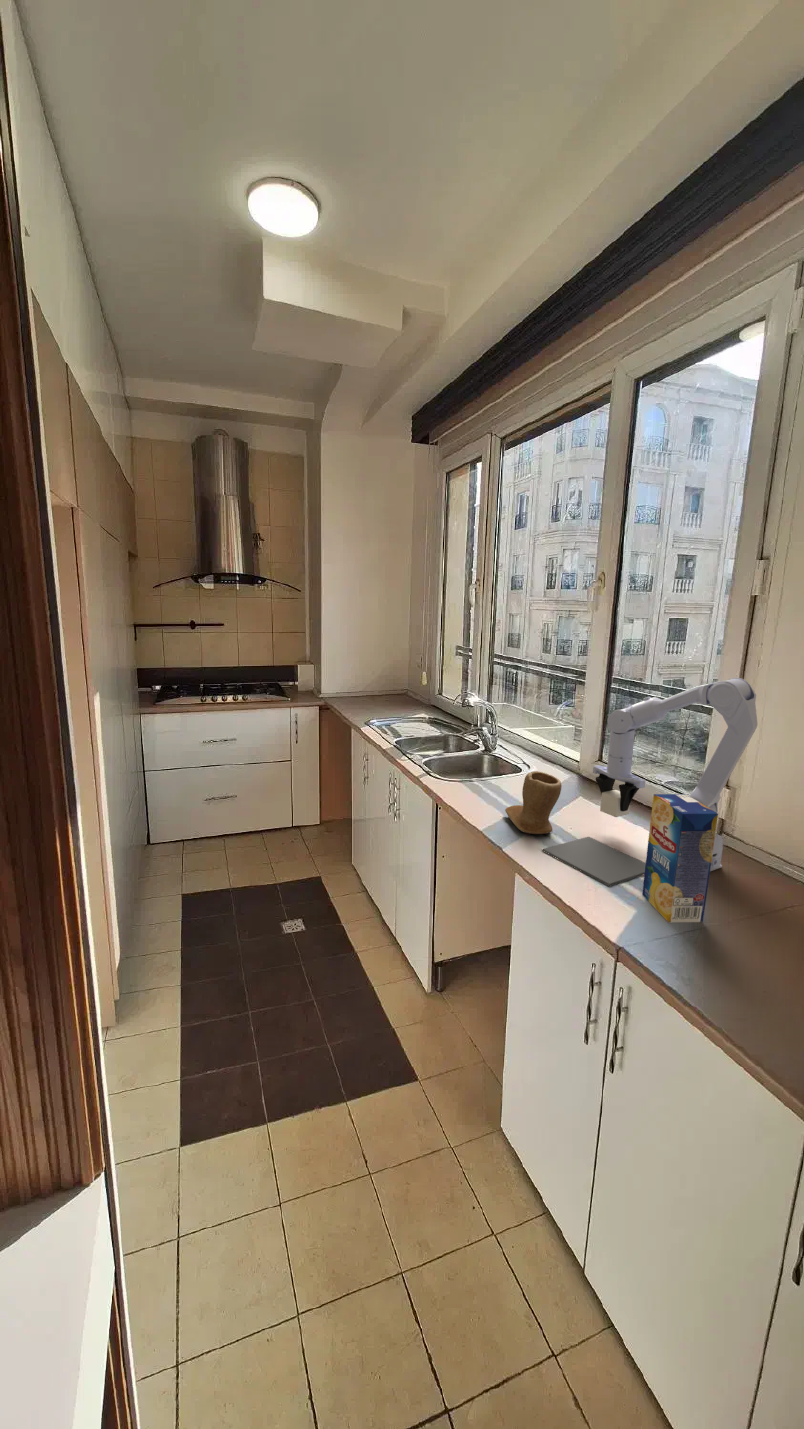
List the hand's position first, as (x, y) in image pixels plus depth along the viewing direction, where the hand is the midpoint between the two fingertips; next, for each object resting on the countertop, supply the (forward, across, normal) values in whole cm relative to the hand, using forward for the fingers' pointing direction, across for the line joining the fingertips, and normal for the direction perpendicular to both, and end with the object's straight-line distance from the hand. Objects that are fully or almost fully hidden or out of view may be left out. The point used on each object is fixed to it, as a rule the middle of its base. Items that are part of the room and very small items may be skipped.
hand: (615, 807), depth 151 cm
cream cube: (+2, 0, 0) cm, 2 cm away
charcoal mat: (+8, -8, +14) cm, 18 cm away
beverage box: (+8, -30, +18) cm, 36 cm away
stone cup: (+8, +15, +14) cm, 22 cm away
